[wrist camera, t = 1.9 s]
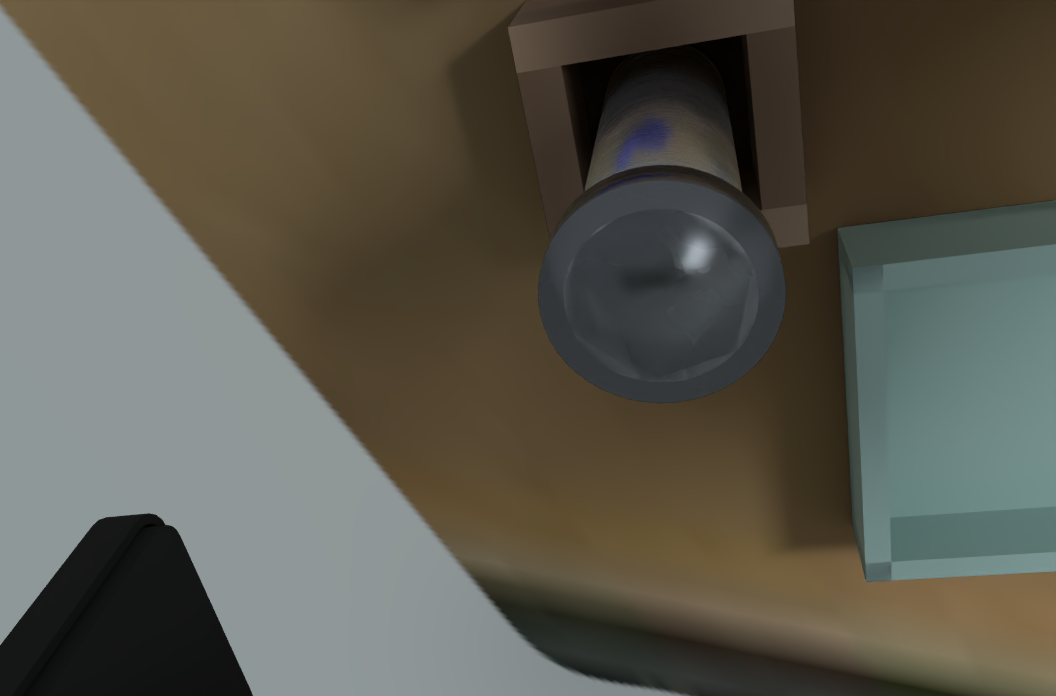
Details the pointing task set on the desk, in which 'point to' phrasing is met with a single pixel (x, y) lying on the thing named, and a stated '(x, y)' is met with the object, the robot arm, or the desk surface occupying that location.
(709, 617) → the desk surface
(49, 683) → the robot arm
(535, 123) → the socket
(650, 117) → the flashlight
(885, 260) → the tray
